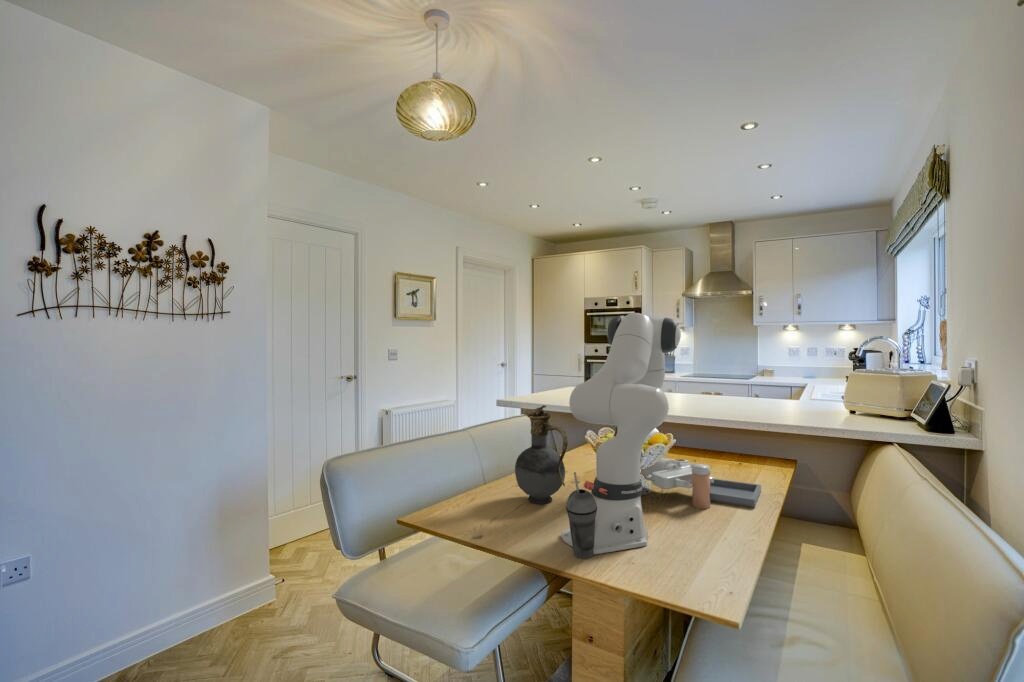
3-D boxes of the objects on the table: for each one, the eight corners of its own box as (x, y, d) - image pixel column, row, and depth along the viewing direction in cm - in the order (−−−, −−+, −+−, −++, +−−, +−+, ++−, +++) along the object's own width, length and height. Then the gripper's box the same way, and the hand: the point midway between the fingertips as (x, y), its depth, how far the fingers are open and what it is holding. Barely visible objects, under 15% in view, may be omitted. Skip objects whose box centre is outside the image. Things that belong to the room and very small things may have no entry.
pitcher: (534, 491, 163) (532, 401, 163) (579, 504, 149) (577, 406, 149) (510, 498, 156) (509, 404, 155) (555, 513, 142) (553, 410, 142)
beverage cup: (599, 563, 111) (596, 479, 108) (567, 562, 112) (563, 479, 109) (598, 545, 118) (595, 466, 115) (568, 544, 119) (564, 466, 116)
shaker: (702, 510, 143) (702, 469, 143) (688, 505, 147) (687, 465, 147) (714, 506, 145) (713, 466, 145) (700, 501, 150) (699, 462, 150)
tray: (754, 508, 144) (754, 499, 144) (694, 498, 153) (694, 490, 153) (761, 492, 158) (760, 484, 158) (705, 484, 167) (705, 477, 167)
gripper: (642, 467, 153) (677, 477, 141) (687, 458, 163) (723, 467, 151) (642, 487, 153) (677, 499, 141) (688, 477, 163) (724, 488, 151)
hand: (701, 482), depth 146 cm, fingers open, 8 cm apart
